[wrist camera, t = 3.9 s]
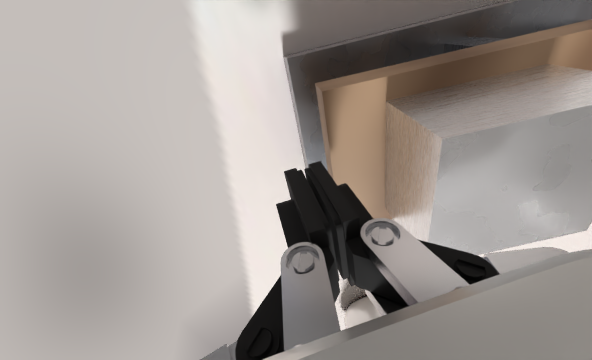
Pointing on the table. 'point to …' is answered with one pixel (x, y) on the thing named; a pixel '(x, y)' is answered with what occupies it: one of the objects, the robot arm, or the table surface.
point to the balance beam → (417, 79)
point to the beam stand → (414, 51)
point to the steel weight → (493, 159)
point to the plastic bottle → (360, 312)
